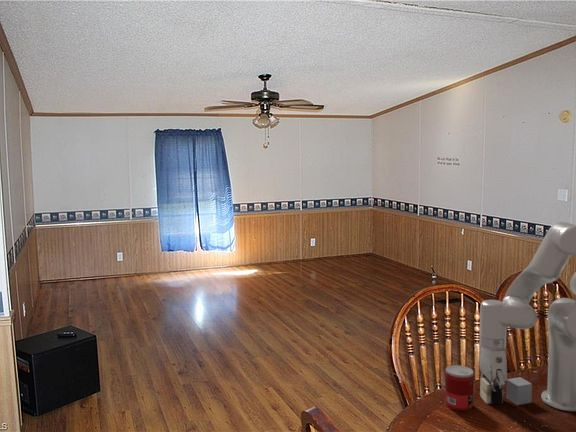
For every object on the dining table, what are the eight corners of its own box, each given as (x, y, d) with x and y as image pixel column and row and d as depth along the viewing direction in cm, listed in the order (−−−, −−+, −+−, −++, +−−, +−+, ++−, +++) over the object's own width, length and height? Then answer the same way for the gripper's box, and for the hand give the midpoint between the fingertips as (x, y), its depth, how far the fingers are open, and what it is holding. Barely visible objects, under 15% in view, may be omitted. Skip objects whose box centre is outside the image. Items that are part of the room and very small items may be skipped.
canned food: (474, 412, 153) (475, 376, 152) (446, 410, 154) (446, 374, 153) (471, 400, 160) (471, 365, 159) (444, 398, 162) (444, 364, 161)
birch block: (496, 395, 163) (496, 377, 162) (502, 403, 158) (503, 384, 157) (480, 396, 163) (480, 377, 162) (486, 403, 158) (486, 384, 157)
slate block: (519, 395, 163) (520, 377, 162) (531, 402, 158) (532, 383, 157) (506, 397, 161) (506, 379, 161) (517, 405, 157) (517, 386, 156)
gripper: (517, 351, 150) (516, 410, 152) (493, 331, 167) (491, 384, 169) (491, 352, 150) (490, 411, 152) (469, 331, 167) (468, 385, 169)
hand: (491, 396), depth 160 cm, fingers open, 7 cm apart
